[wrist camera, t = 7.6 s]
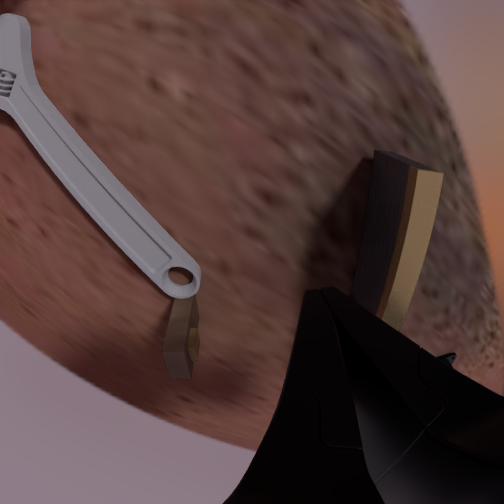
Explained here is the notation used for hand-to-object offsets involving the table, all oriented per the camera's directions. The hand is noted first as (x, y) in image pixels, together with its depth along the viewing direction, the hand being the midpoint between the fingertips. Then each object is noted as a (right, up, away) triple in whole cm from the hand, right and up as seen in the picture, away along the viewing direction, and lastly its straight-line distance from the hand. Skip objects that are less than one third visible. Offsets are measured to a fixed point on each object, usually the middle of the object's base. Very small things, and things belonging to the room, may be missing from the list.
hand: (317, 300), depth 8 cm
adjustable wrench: (-14, +8, +6) cm, 17 cm away
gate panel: (+6, +2, +9) cm, 11 cm away
